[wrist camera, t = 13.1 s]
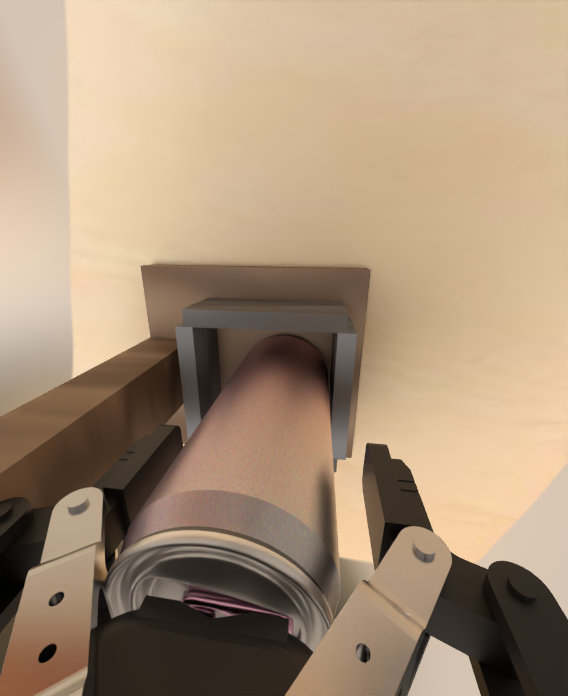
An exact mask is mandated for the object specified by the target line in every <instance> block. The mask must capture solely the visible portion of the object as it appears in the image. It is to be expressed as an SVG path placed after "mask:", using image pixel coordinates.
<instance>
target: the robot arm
mask: <svg viewBox="0 0 568 696" xmlns="http://www.w3.org/2000/svg"><path fill="white" fill-rule="evenodd" d="M182 448H183V442H182V435H181V429H180V427H179V426H176V425H164V424H161V425H159V426H158V427H157V428H156V429H155V430H154V432H153V433H152V434H151V435H146V436H145V437H143V438H141V439H140V440H138V441H136V442H135V443H134V444H133V445H132V446H131V447H130V448H129V449H128V450H127V451H126V453H124V454H123V455H122V456H121V457H120V458H119V460H117V461H116V462H115V464H114V465H113V466H112V467H111V468H110V469H109V470H108V471H107V472H106V473H105V474H104V475H103V476H102V477H101V478H100V479H99V480H98V481H97V482H96V483H95V484H94V485H93V486H92V487H88V488H83V489H79V490H77V491H74V492H72V493H70V494H68V495H67V496H65V497H64V498H63V499H61V500H60V501H59V502H58V503H57V504H56V505H55V506H48V507H42V508H35V509H31V506H30V503H29V501H28V500H27V499H26V498H23V497H14V498H9V499H6V500H3V501H0V633H1V632H2V630H3V629H4V628H5V627H6V625H7V624H8V623H9V622H10V620H11V619H12V618H13V617H14V615H15V614H16V613H17V616H16V619H15V623H14V627H13V631H12V635H11V639H10V642H9V646H8V650H7V654H6V658H5V661H4V665H3V669H2V673H1V676H0V696H407V695H408V692H409V690H410V688H411V685H412V682H413V680H414V677H415V675H416V672H417V670H418V667H419V664H420V662H421V659H422V657H423V654H424V652H425V649H426V646H427V644H428V641H429V639H430V636H433V637H435V638H436V639H438V640H440V641H442V642H444V643H446V644H448V645H450V646H451V647H453V648H455V649H457V650H459V651H461V652H463V653H465V654H467V655H468V656H469V659H470V662H471V665H472V668H473V672H474V675H475V678H476V681H477V684H478V688H479V691H480V694H481V696H568V619H567V618H566V616H565V614H564V613H563V611H562V610H561V608H560V606H559V605H558V603H557V601H556V599H555V598H554V596H553V595H552V593H551V592H550V590H549V589H548V588H547V586H546V585H545V584H544V583H543V582H542V581H541V580H540V579H539V578H538V577H536V576H535V575H534V574H532V573H531V572H530V571H528V570H527V569H525V568H523V567H521V566H519V565H517V564H514V563H511V562H508V561H496V562H494V563H492V564H491V565H490V566H489V569H485V568H483V567H480V566H478V565H476V564H473V563H471V562H469V561H466V560H464V559H462V558H460V557H458V556H456V555H454V554H453V553H452V552H450V550H449V548H448V547H447V545H446V544H445V543H444V541H443V540H442V539H441V538H440V537H439V536H437V535H436V534H435V533H434V532H433V529H432V527H431V524H430V521H429V519H428V516H427V513H426V511H425V508H424V505H423V503H422V500H421V497H420V495H419V493H418V489H417V486H416V484H415V481H414V478H413V476H412V473H411V470H410V469H409V468H408V467H407V466H406V465H405V463H404V462H403V461H402V460H400V459H391V457H390V453H389V450H388V447H387V445H384V444H373V443H367V445H366V451H365V459H364V467H363V478H362V485H363V495H364V501H365V508H366V515H367V522H368V528H369V535H370V542H371V548H372V555H373V562H374V569H375V572H374V574H373V575H372V577H371V578H370V580H369V581H368V582H367V581H365V580H363V581H362V582H361V583H360V584H359V585H358V586H357V588H356V589H355V591H354V592H353V594H352V595H351V597H350V598H349V600H348V601H347V603H346V604H345V606H344V607H343V609H342V610H341V612H340V613H339V615H338V616H337V618H336V619H335V621H334V622H333V624H332V625H331V627H330V628H329V630H328V631H327V633H326V634H325V636H324V637H323V639H322V640H321V642H320V643H319V645H318V646H317V648H316V649H315V651H314V652H313V651H312V650H311V649H310V648H309V647H308V646H307V645H306V644H305V643H303V642H302V641H301V640H299V639H298V638H297V637H295V636H293V635H291V634H290V633H289V619H287V618H281V617H275V616H269V615H263V614H257V613H247V614H240V615H233V616H226V617H219V618H210V617H208V616H206V615H204V614H202V613H201V612H199V611H197V610H195V609H194V608H192V607H190V606H188V605H186V604H185V603H183V602H181V601H179V600H173V599H167V598H161V597H155V596H149V595H146V596H145V598H144V600H143V602H142V604H141V606H140V608H139V609H136V610H132V611H129V612H125V613H123V614H121V615H118V616H116V617H114V615H113V611H112V608H111V605H110V602H109V599H108V597H107V594H106V591H105V587H104V582H105V579H106V576H107V574H108V572H109V570H110V568H111V566H112V565H113V563H114V562H115V560H116V559H117V558H118V551H117V547H118V545H119V544H120V543H121V541H122V540H124V539H125V535H126V533H127V530H128V528H129V526H130V524H131V523H132V521H133V520H134V518H135V517H136V515H137V514H138V512H139V511H140V510H141V508H142V507H143V505H144V504H145V502H146V501H147V499H148V498H149V496H150V495H151V494H152V492H153V491H154V489H155V488H156V486H157V485H158V483H159V482H160V480H161V479H162V478H163V476H164V475H165V473H166V472H167V470H168V469H169V467H170V466H171V464H172V463H173V462H174V460H175V459H176V457H177V456H178V454H179V453H180V451H181V450H182Z"/></svg>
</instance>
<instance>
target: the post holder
mask: <svg viewBox="0 0 568 696" xmlns="http://www.w3.org/2000/svg"><path fill="white" fill-rule="evenodd" d="M141 271H142V279H143V286H144V293H145V300H146V307H147V314H148V321H149V328H150V335H151V338H149V339H147V340H145V341H143V342H141V343H139V344H138V345H136V346H134V347H132V348H130V349H128V350H126V351H124V352H122V353H121V354H119V355H117V356H115V357H113V358H111V359H109V360H107V361H105V362H103V363H102V364H100V365H98V366H96V367H94V368H92V369H90V370H88V371H86V372H85V373H83V374H81V375H79V376H77V377H75V378H73V379H71V380H69V381H68V382H66V383H64V384H62V385H60V386H58V387H57V388H54V389H53V390H51V391H49V392H47V393H45V394H43V395H41V396H39V397H37V398H35V399H34V400H32V401H30V402H28V403H26V404H24V405H22V406H20V407H18V408H17V409H15V410H13V411H11V412H9V413H7V414H5V415H3V416H1V417H0V501H3V500H6V499H9V498H14V497H23V498H26V499H27V500H28V501H29V503H30V506H31V509H35V508H42V507H48V506H55V505H56V504H57V503H58V502H59V501H60V500H61V499H63V498H64V497H65V496H67V495H68V494H70V493H72V492H74V491H77V490H79V489H83V488H88V487H92V486H93V485H94V484H95V483H96V482H97V481H98V480H99V479H100V478H101V477H102V476H103V475H104V474H105V473H106V472H107V471H108V470H109V469H110V468H111V467H112V466H113V465H114V464H115V462H116V461H117V460H119V458H120V457H121V456H122V455H123V454H124V453H126V451H127V450H128V449H129V448H130V447H131V446H132V445H133V444H134V443H135V442H136V441H138V440H140V439H141V438H143V437H145V436H146V435H151V434H152V433H153V432H154V430H155V429H156V428H157V427H158V426H159V425H161V424H164V425H176V426H179V427H180V429H181V435H182V442H183V444H186V443H187V441H188V440H189V438H190V437H191V435H192V434H193V432H194V431H195V430H196V428H197V427H198V425H199V424H200V422H201V421H202V419H203V418H204V416H205V415H206V414H207V412H208V411H209V409H210V408H211V406H212V405H213V403H214V402H215V400H216V399H217V398H218V396H219V395H220V393H221V392H222V390H223V389H224V387H225V386H226V384H227V383H228V382H229V380H230V379H231V377H232V376H233V374H234V373H235V371H236V370H237V368H238V367H239V366H240V364H241V363H242V361H243V360H244V358H245V357H246V355H247V354H248V352H249V351H250V350H251V349H252V348H253V347H254V346H255V345H256V344H257V343H259V342H261V341H262V340H264V339H267V338H270V337H274V336H292V337H296V338H299V339H301V340H304V341H305V342H307V343H309V344H310V345H312V346H313V347H314V348H315V349H316V350H317V351H318V352H319V353H320V355H321V356H322V358H323V360H324V362H325V364H326V367H327V372H328V386H329V402H330V419H331V436H332V452H333V469H334V472H336V467H337V459H342V460H345V459H346V457H347V458H351V456H352V446H353V436H354V426H355V416H356V407H357V397H358V387H359V377H360V367H361V357H362V347H363V337H364V327H365V318H366V308H367V298H368V288H369V278H370V270H369V269H367V268H315V267H257V266H199V265H144V266H141Z"/></svg>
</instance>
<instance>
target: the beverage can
mask: <svg viewBox="0 0 568 696" xmlns="http://www.w3.org/2000/svg"><path fill="white" fill-rule="evenodd" d="M340 586H341V585H340V569H339V552H338V535H337V519H336V502H335V485H334V469H333V452H332V436H331V419H330V402H329V386H328V372H327V367H326V364H325V362H324V360H323V358H322V356H321V355H320V353H319V352H318V351H317V350H316V349H315V348H314V347H313V346H312V345H310V344H309V343H307V342H305V341H304V340H301V339H299V338H296V337H292V336H274V337H270V338H267V339H264V340H262V341H261V342H259V343H257V344H256V345H255V346H254V347H253V348H252V349H251V350H250V351H249V352H248V354H247V355H246V357H245V358H244V360H243V361H242V363H241V364H240V366H239V367H238V368H237V370H236V371H235V373H234V374H233V376H232V377H231V379H230V380H229V382H228V383H227V384H226V386H225V387H224V389H223V390H222V392H221V393H220V395H219V396H218V398H217V399H216V400H215V402H214V403H213V405H212V406H211V408H210V409H209V411H208V412H207V414H206V415H205V416H204V418H203V419H202V421H201V422H200V424H199V425H198V427H197V428H196V430H195V431H194V432H193V434H192V435H191V437H190V438H189V440H188V441H187V443H186V444H185V446H184V447H183V448H182V450H181V451H180V453H179V454H178V456H177V457H176V459H175V460H174V462H173V463H172V464H171V466H170V467H169V469H168V470H167V472H166V473H165V475H164V476H163V478H162V479H161V480H160V482H159V483H158V485H157V486H156V488H155V489H154V491H153V492H152V494H151V495H150V496H149V498H148V499H147V501H146V502H145V504H144V505H143V507H142V508H141V510H140V511H139V512H138V514H137V515H136V517H135V518H134V520H133V521H132V523H131V524H130V526H129V528H128V530H127V533H126V535H125V539H124V542H123V546H122V549H121V552H120V555H119V556H118V558H117V559H116V560H115V562H114V563H113V565H112V566H111V568H110V570H109V572H108V574H107V576H106V579H105V582H104V587H105V591H106V594H107V597H108V599H109V602H110V605H111V608H112V611H113V615H114V617H116V616H118V615H121V614H123V613H125V612H129V611H132V610H136V609H139V608H140V606H141V604H142V602H143V600H144V598H145V596H146V595H149V596H155V597H161V598H167V599H173V600H179V601H181V602H183V603H185V604H186V605H188V606H190V607H192V608H194V609H195V610H197V611H199V612H201V613H202V614H204V615H206V616H208V617H210V618H219V617H226V616H233V615H240V614H247V613H257V614H263V615H269V616H275V617H281V618H287V619H289V633H290V634H291V635H293V636H295V637H297V638H298V639H299V640H301V641H302V642H303V643H305V644H306V645H307V646H308V647H309V648H310V649H311V650H312V651H313V652H314V651H315V649H316V648H317V646H318V645H319V643H320V642H321V640H322V639H323V637H324V636H325V634H326V633H327V631H328V630H329V628H330V627H331V625H332V624H333V622H334V617H335V612H336V609H337V605H338V601H339V597H340Z"/></svg>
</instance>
